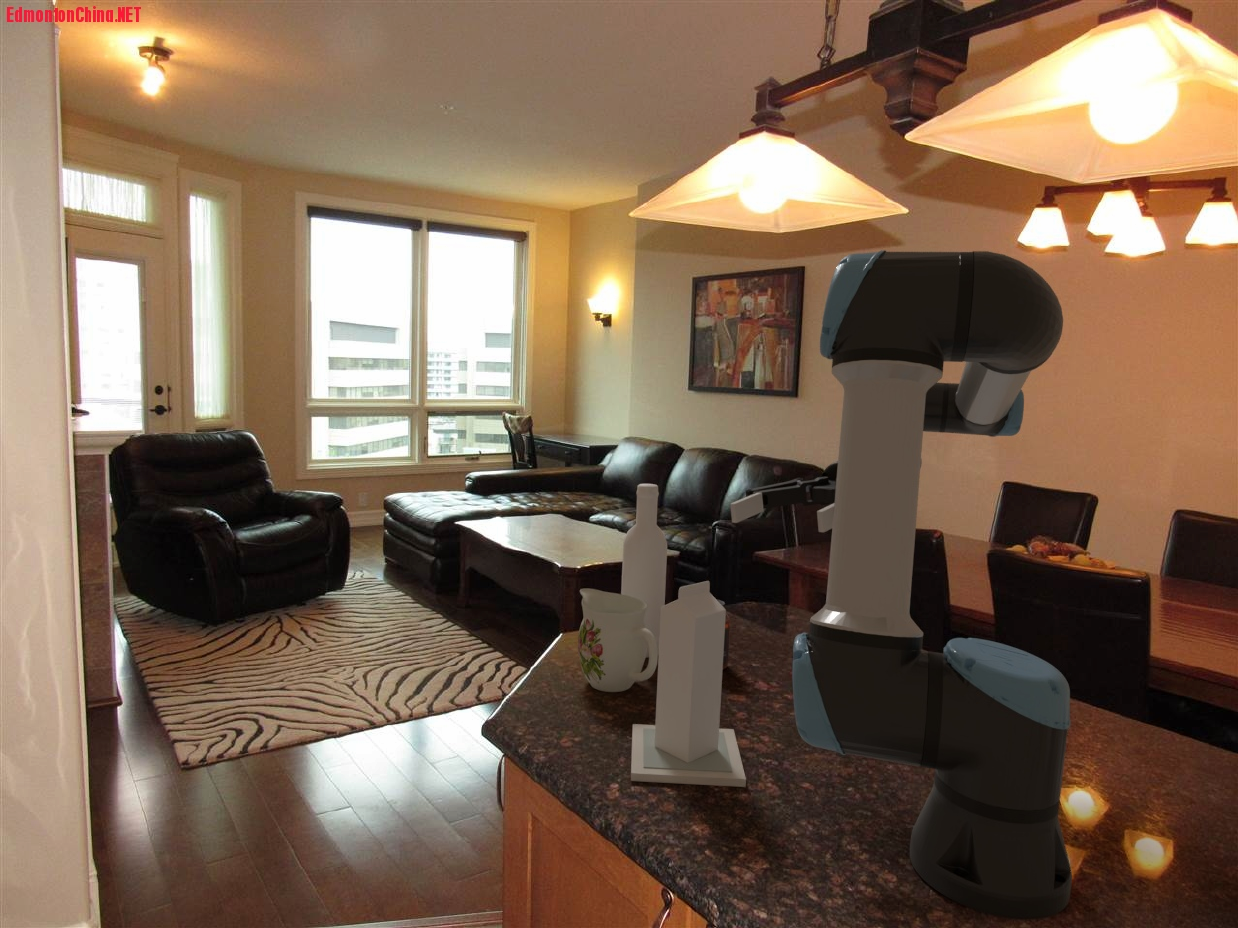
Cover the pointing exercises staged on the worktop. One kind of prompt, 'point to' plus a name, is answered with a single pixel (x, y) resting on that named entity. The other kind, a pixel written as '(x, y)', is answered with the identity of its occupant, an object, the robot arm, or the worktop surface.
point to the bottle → (646, 559)
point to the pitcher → (614, 641)
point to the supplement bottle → (726, 638)
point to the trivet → (666, 768)
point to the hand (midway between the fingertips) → (774, 517)
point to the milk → (690, 674)
